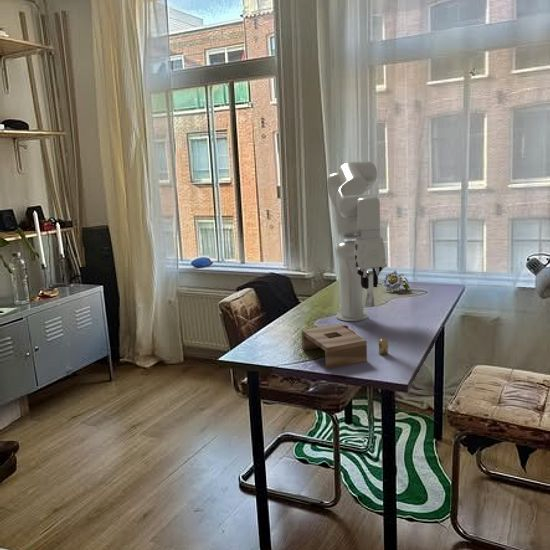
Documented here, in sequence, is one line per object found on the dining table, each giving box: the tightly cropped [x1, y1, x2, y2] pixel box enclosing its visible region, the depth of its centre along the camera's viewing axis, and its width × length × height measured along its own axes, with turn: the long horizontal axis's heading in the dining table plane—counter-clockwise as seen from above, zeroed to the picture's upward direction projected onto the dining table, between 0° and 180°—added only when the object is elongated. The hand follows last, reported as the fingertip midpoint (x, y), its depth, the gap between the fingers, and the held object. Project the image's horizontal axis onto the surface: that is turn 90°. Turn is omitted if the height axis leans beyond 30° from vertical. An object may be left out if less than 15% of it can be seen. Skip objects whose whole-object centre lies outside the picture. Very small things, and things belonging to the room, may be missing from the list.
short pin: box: [378, 337, 389, 356], centre depth 175 cm, size 3×3×5 cm
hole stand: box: [301, 323, 368, 370], centre depth 177 cm, size 20×14×7 cm
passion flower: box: [380, 270, 411, 294], centre depth 256 cm, size 11×11×12 cm
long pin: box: [364, 270, 375, 308], centre depth 181 cm, size 3×3×12 cm
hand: (369, 286), depth 181 cm, fingers closed on long pin, 3 cm apart
